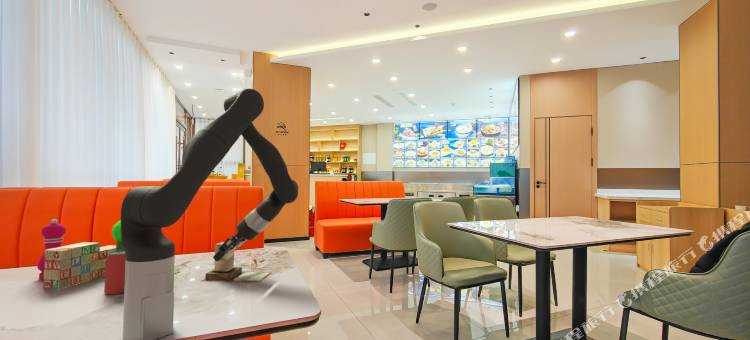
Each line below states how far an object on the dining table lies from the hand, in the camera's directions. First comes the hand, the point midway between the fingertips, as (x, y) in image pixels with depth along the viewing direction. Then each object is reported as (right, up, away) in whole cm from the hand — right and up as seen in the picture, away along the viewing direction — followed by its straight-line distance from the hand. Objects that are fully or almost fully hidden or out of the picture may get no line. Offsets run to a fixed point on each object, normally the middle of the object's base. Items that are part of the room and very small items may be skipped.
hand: (219, 257), depth 112 cm
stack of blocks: (-45, -7, -2) cm, 45 cm away
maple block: (+2, -4, 0) cm, 4 cm away
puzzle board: (+7, -8, 0) cm, 10 cm away
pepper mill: (-58, -7, -1) cm, 58 cm away
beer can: (-24, -7, -14) cm, 29 cm away
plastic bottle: (-30, -7, -2) cm, 31 cm away
